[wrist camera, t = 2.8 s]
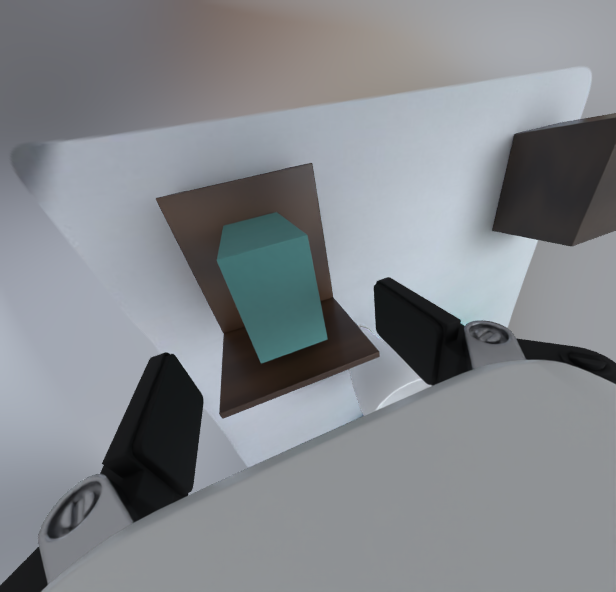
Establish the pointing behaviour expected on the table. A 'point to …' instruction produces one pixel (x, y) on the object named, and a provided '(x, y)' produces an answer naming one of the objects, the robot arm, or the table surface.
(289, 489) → the robot arm
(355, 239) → the table surface
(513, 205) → the dark brown box
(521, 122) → the table surface
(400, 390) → the cup
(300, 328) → the block
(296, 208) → the shelf
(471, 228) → the table surface
